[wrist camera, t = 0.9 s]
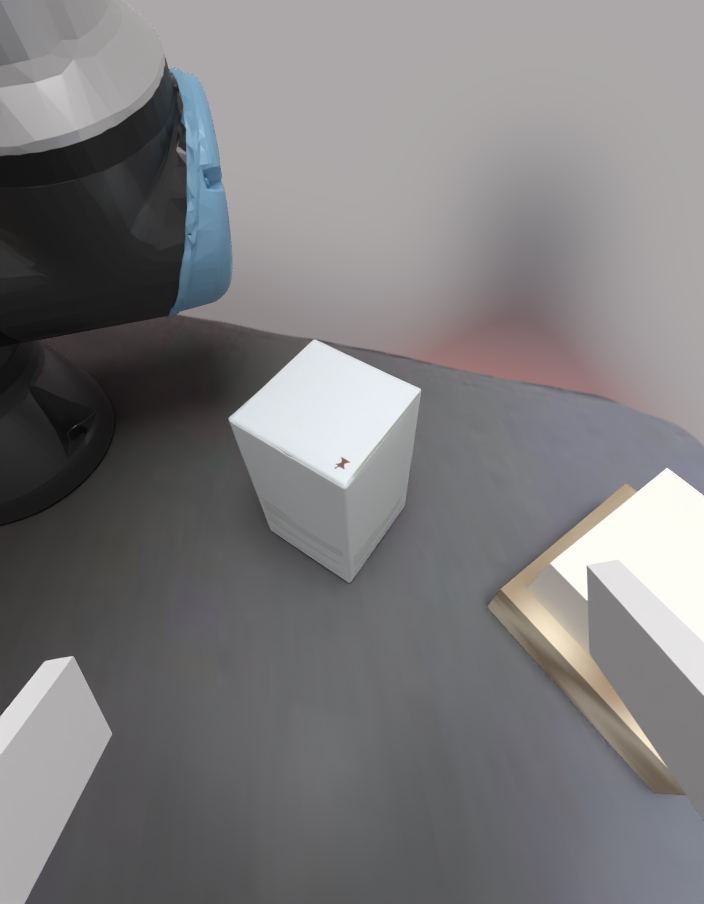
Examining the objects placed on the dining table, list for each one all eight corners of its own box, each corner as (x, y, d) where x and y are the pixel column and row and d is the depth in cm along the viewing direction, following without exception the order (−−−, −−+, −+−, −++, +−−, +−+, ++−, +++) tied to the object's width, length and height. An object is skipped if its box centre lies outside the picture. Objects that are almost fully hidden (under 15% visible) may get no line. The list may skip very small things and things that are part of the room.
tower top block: (526, 588, 27) (549, 563, 24) (633, 501, 30) (667, 467, 27) (683, 756, 22) (739, 754, 19) (790, 631, 25) (854, 610, 22)
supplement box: (407, 505, 34) (428, 389, 24) (349, 587, 31) (344, 492, 20) (328, 458, 36) (315, 333, 26) (265, 528, 33) (222, 418, 23)
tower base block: (485, 609, 30) (500, 589, 27) (600, 511, 34) (626, 483, 31) (648, 792, 25) (693, 795, 21) (764, 650, 29) (816, 634, 25)
